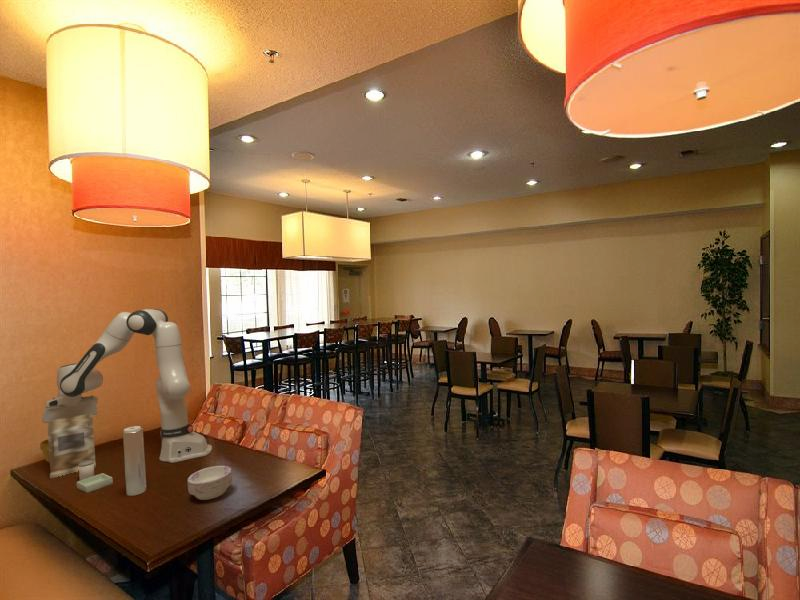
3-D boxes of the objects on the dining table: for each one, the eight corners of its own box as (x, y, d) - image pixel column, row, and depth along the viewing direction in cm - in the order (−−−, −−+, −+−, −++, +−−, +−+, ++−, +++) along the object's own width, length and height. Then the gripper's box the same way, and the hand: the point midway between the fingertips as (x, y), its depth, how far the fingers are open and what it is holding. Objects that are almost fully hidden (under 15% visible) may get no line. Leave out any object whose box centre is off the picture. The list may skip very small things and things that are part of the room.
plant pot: (42, 459, 202) (41, 439, 202) (69, 454, 208) (68, 434, 208) (40, 466, 193) (38, 445, 193) (68, 459, 200) (67, 439, 200)
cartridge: (96, 475, 180) (95, 458, 179) (91, 480, 175) (90, 463, 175) (82, 477, 178) (81, 461, 178) (77, 482, 173) (76, 465, 173)
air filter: (136, 496, 158) (132, 430, 157) (122, 495, 159) (118, 430, 159) (150, 488, 164) (146, 425, 164) (136, 487, 165) (132, 425, 165)
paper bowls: (187, 492, 159) (186, 471, 159) (230, 481, 167) (229, 461, 167) (189, 508, 146) (188, 486, 146) (235, 496, 153) (234, 475, 153)
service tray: (103, 479, 175) (102, 473, 175) (112, 483, 170) (112, 477, 170) (77, 488, 168) (76, 481, 167) (86, 493, 162) (86, 486, 162)
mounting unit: (95, 461, 196) (92, 412, 196) (95, 467, 188) (92, 416, 188) (51, 471, 186) (48, 419, 186) (49, 478, 178) (46, 424, 178)
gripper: (97, 393, 204) (98, 421, 204) (42, 401, 191) (43, 431, 191) (97, 395, 199) (99, 424, 199) (41, 404, 186) (42, 434, 186)
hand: (71, 428), depth 195 cm, fingers open, 8 cm apart
